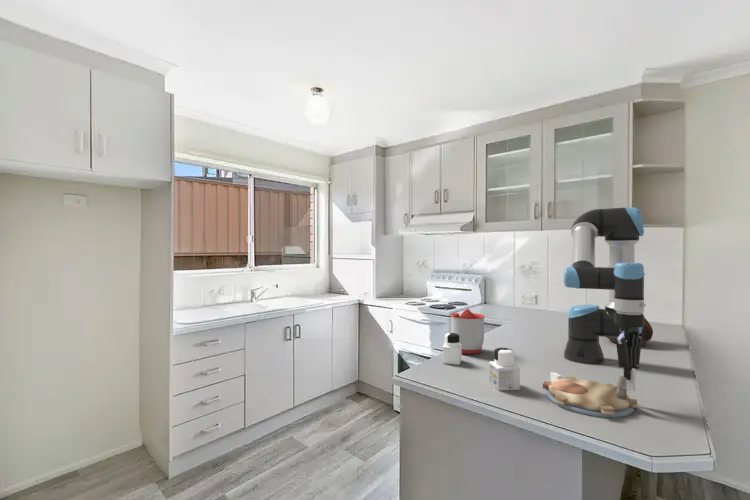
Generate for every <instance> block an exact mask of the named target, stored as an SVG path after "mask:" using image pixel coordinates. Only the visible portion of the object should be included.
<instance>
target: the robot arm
mask: <svg viewBox="0 0 750 500" xmlns="http://www.w3.org/2000/svg"><path fill="white" fill-rule="evenodd" d="M644 230H645V229H644V221H643V216H642V213H641V210H640V209H639V208H638V207H614V208H613V207H612V208H611V207H610V208H595V209H590V210H588V211H585V212H584V213H582V214H581V215H580V216H578V217H577V218H576V219H575V221H574V222H573V223H572V226H571V230H570V234H571V237H572V238H573V239H572V241H573V242H572V254H571V266H565V267H564V270H563V283H564V284H563V285H564V286H565V287H566V288H573V289H581V290H582V289H583V290H584V289H588V290H589V289H590V290H607V291H609V294H608V295H609V297H608V298H609V299H608V302H607V303H606V304H605V305H604V308H600V305H598V304H578V305H577V304H576V305H573V306H570V307H569V308H568V314H567V319H568V321H567V322H568V324H567V325H568V328H567V329H568V332H567V333H568V335H567V336H568V338H567V339H568V340H567V342H566V345H565V348H564V350H563V357H564V358H565V359H566V360H569V361H573V362H575V363H576V362H577V363H579V364H581V363H583V364H595V365H596V364H602V363H604V362H605V356H604V353H603V349H602V348H601V343H600V337H603V338H606V337H611V338H615V342H616V343H615V342H614V343H615V345H616V353H617V361H618V366H619V368H622V369H623V370H622V372H623V373H622V374H623V375H622V376H623V377H626V378H627V390H628V391H630V392H634V391H636V369H637V370H640V366H639V365H640V359H641V351H642V345H641V342H642V338H643V334H641V332H642V328H643V326H644V317H645V315H644V312H645V307H646V303H645V295H644V294H645V276H646V274H645V269H644V268H645V267H644V264H643V263H641V262H635V248H636V247H635V245H636V244H637V243H638V242H640V237H642V236H644V235H645V231H644ZM598 237H600V238H602V237H604V241H605V243H606V244H608V246H609V248H608V249H609V251H608V254H609V255H608V261H609V263H608V264H609V265H608V266H609V267H605V266H603V267H601V266H597V267H596V238H598Z"/></svg>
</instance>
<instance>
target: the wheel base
mask: <svg viewBox="0 0 750 500" xmlns="http://www.w3.org/2000/svg"><path fill="white" fill-rule="evenodd" d="M549 377H550V379H549V380H550V381H549V382H552V381H554V380H559V379H563V378H562V375H560V374H559V373H556V372H555V371H552V372H550V375H549ZM545 397H546V398H547V399H548V401H550V402H551V403H553V404H555V405H556V406H558V407H561V408H563V409H565V410H567V411H569V412H570V411H571V412H574V413H577V414H581V415H585V416H590V417H596V418H608V419H609V418H610V419H611V418H613V419H615V418H624V417H628V416H631V415H632V414H633V413H634V412H635V407H630V406H629V407H628V408H627V409H625V410H621V411H615V414H603V413H602V412H600V411H595V410H589V409H584V408H579V407H576V406H572V405H569V404H565V405H562V404H560V403H558V402H556V401H555V397H553V396H552V395H551V394H550V393H549V390H548V389H545Z"/></svg>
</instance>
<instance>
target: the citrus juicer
mask: <svg viewBox="0 0 750 500" xmlns="http://www.w3.org/2000/svg"><path fill="white" fill-rule="evenodd" d="M450 328H451V329H450V333H456V334H458V335H459V344H461V346H462V355H463V354H464V355H475V354H476V355H478V354H479V353H481V352H482V350H483V345H484V340H485V315H484V314H481V313H476V312H472V311H471V310H470V309H469V308H466V309H465V310H464V311H462V313H461V314H460V313H458V312H453V313H451V314H450Z"/></svg>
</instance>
